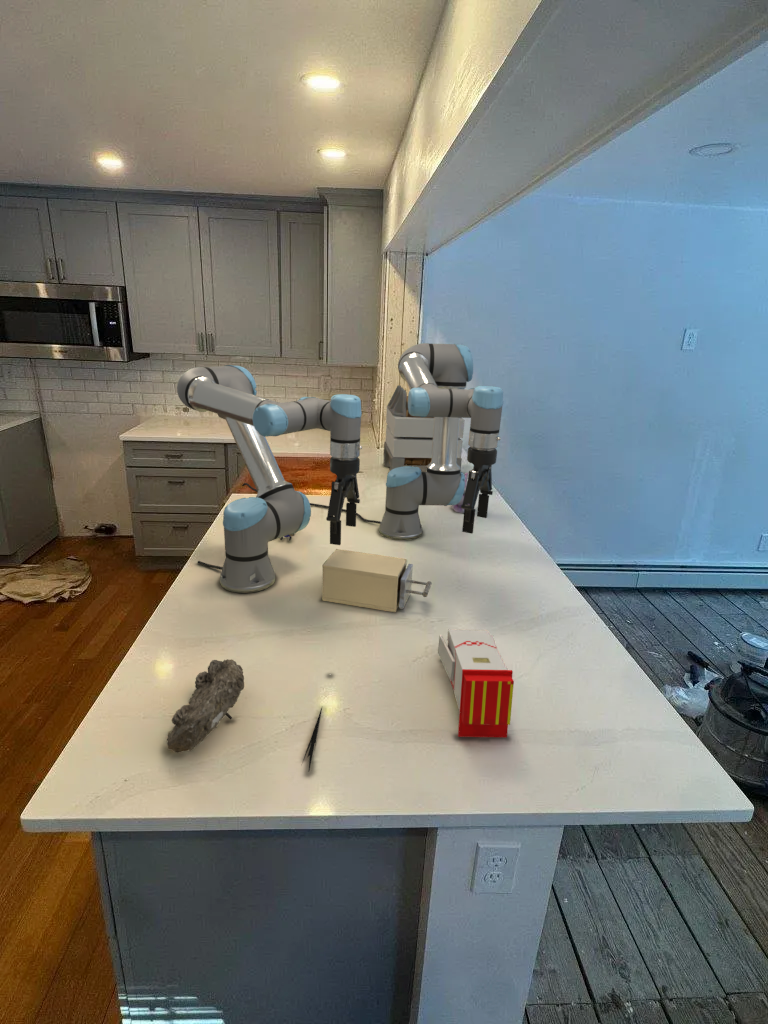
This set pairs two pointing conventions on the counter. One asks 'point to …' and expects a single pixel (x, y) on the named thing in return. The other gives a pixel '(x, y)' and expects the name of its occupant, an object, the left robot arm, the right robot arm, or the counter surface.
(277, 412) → the left robot arm
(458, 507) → the figurine
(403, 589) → the drawer
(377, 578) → the cabinet
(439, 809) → the counter surface
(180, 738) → the fossil
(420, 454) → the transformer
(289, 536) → the figurine character
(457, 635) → the toy
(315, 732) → the feather
